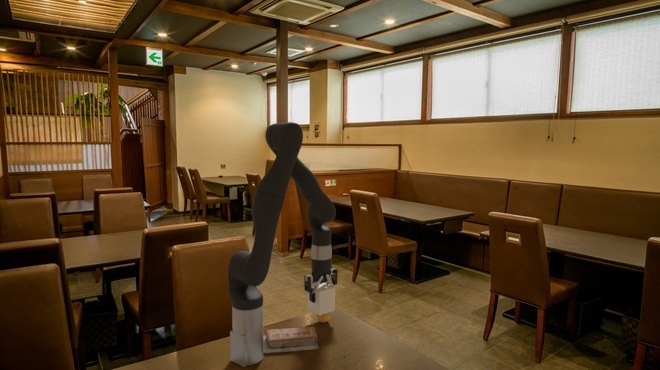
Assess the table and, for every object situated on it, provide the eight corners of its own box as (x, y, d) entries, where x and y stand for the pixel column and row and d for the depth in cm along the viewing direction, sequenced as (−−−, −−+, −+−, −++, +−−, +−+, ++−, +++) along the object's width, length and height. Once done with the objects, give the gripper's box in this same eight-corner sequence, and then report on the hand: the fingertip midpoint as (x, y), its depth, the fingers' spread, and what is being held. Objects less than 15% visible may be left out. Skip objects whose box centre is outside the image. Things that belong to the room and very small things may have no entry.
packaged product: (314, 322, 136) (318, 336, 126) (314, 335, 137) (318, 350, 127) (261, 325, 133) (262, 340, 123) (261, 339, 133) (262, 355, 124)
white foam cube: (334, 310, 145) (335, 287, 144) (319, 315, 140) (319, 292, 139) (322, 303, 151) (322, 281, 150) (307, 308, 146) (307, 286, 145)
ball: (314, 318, 147) (322, 327, 144) (313, 309, 145) (321, 318, 141) (325, 312, 150) (333, 320, 146) (324, 303, 147) (332, 311, 144)
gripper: (330, 250, 150) (329, 291, 152) (299, 257, 141) (299, 300, 143) (343, 254, 145) (342, 297, 147) (312, 262, 136) (311, 307, 138)
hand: (321, 299), depth 145 cm, fingers closed on white foam cube, 7 cm apart
